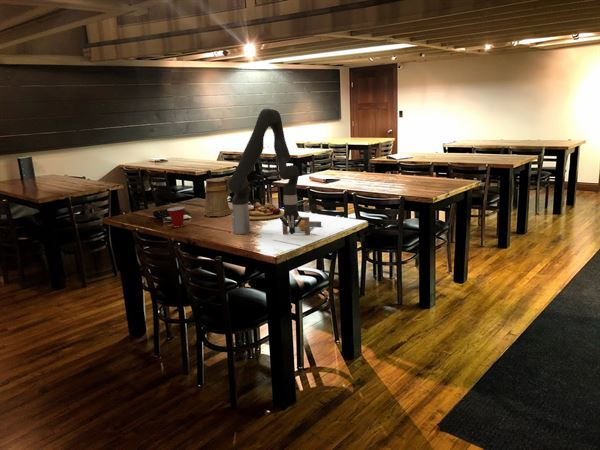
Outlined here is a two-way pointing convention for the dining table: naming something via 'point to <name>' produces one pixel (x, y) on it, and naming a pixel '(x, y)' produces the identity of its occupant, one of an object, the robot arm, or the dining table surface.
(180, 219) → the plastic cup
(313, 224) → the wall
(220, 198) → the tankard
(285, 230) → the tan arch
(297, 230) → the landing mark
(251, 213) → the wooden plate with food
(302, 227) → the ball
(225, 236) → the dining table surface
